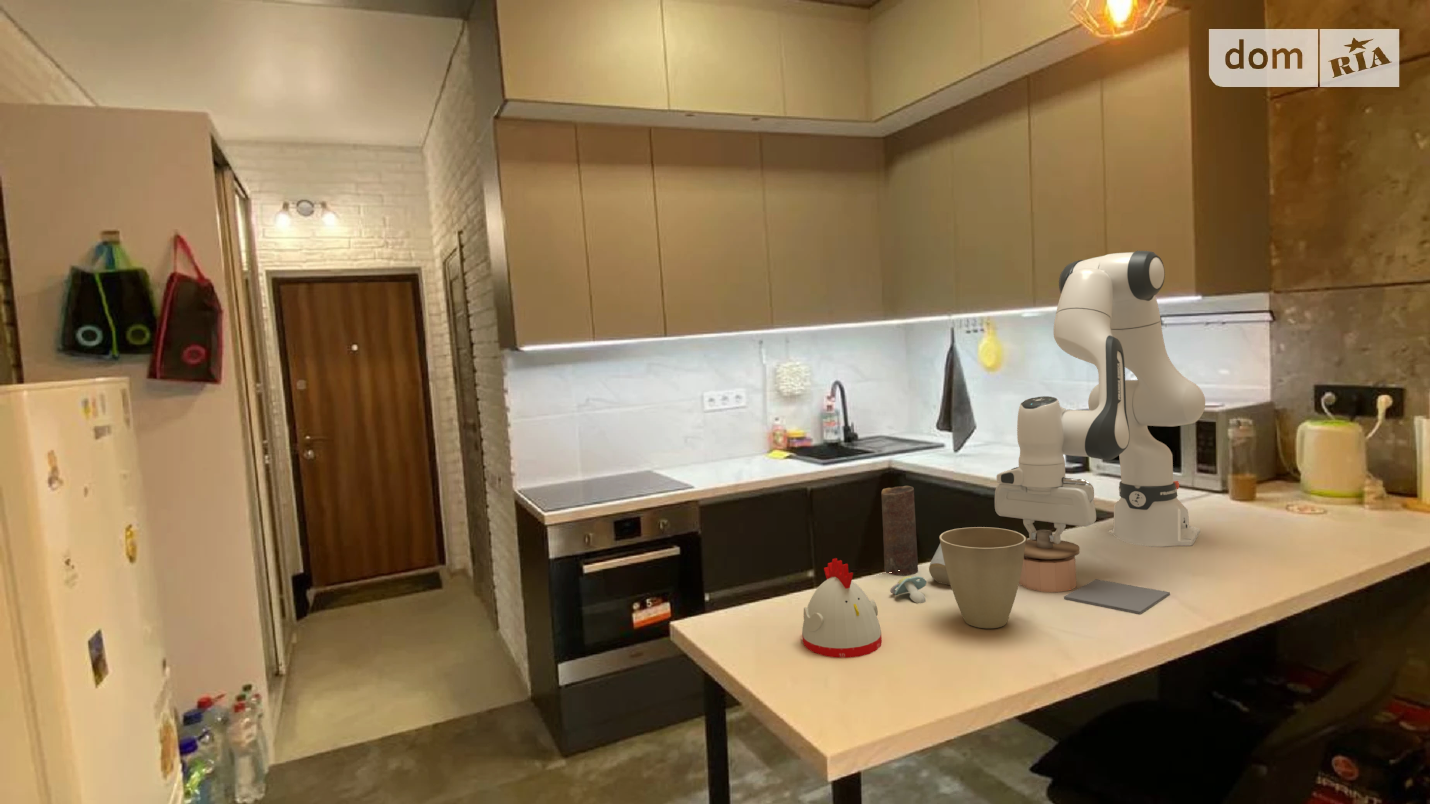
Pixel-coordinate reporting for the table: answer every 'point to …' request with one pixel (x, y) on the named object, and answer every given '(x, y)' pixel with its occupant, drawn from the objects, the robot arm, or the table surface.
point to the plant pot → (983, 572)
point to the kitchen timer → (841, 617)
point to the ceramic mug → (939, 567)
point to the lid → (1049, 547)
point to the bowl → (1048, 574)
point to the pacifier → (910, 588)
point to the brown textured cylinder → (899, 531)
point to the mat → (1117, 596)
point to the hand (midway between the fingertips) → (1044, 541)
